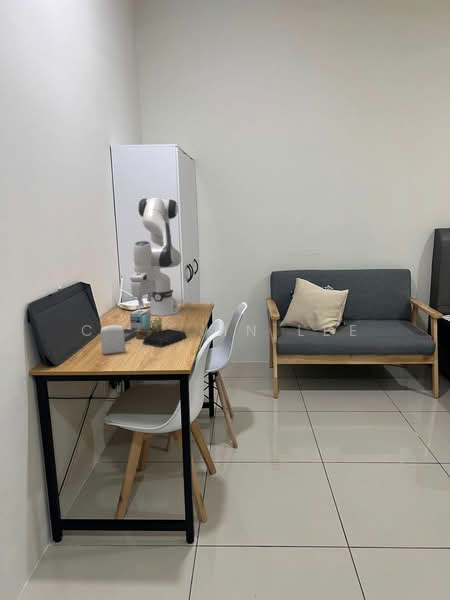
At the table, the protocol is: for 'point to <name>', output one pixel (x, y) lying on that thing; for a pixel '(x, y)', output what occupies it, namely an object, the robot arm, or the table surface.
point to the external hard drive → (164, 338)
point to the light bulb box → (138, 318)
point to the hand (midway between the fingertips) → (145, 303)
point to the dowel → (146, 322)
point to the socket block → (144, 333)
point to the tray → (129, 334)
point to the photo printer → (112, 339)
